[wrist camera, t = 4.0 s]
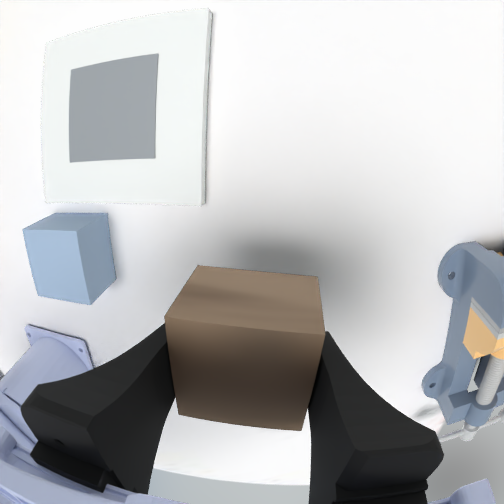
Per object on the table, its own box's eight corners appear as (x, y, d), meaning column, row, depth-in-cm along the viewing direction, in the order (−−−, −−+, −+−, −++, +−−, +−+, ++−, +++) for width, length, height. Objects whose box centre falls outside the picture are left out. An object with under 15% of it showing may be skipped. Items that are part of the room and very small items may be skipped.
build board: (205, 202, 19) (200, 206, 18) (53, 199, 20) (44, 203, 19) (212, 13, 15) (208, 7, 14) (54, 44, 15) (45, 42, 14)
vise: (433, 247, 19) (482, 294, 13) (533, 230, 17) (585, 263, 11) (409, 416, 25) (425, 468, 19) (492, 390, 23) (515, 433, 17)
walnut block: (301, 367, 15) (301, 430, 11) (201, 355, 15) (178, 414, 11) (317, 276, 13) (325, 334, 9) (197, 265, 13) (164, 316, 10)
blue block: (117, 278, 22) (90, 305, 18) (66, 272, 22) (38, 295, 19) (108, 212, 20) (76, 231, 16) (56, 212, 20) (22, 229, 17)
